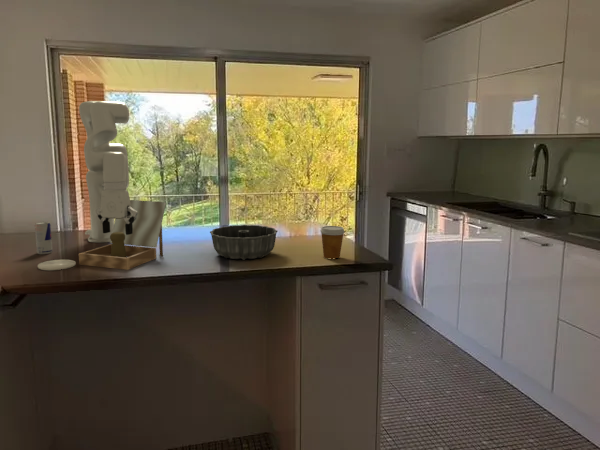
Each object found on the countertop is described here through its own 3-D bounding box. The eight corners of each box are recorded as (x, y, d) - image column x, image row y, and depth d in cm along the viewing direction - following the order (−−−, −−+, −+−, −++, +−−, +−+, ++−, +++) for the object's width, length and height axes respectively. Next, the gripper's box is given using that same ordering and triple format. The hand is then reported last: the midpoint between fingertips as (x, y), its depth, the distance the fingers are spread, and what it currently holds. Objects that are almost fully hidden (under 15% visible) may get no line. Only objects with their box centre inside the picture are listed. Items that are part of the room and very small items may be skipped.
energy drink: (55, 252, 191) (53, 222, 189) (44, 255, 186) (42, 224, 184) (45, 250, 193) (42, 221, 191) (33, 253, 188) (31, 223, 186)
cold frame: (79, 264, 174) (75, 207, 170) (123, 249, 198) (121, 199, 194) (127, 269, 168) (125, 210, 164) (167, 253, 192) (166, 201, 188)
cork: (113, 259, 182) (111, 230, 180) (129, 259, 182) (128, 230, 180) (108, 263, 176) (106, 233, 174) (125, 263, 176) (123, 233, 174)
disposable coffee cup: (346, 256, 193) (348, 227, 191) (338, 261, 184) (339, 230, 182) (324, 253, 197) (325, 224, 195) (315, 258, 188) (316, 228, 186)
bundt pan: (222, 266, 175) (222, 239, 173) (202, 251, 198) (201, 227, 196) (288, 259, 187) (288, 234, 185) (261, 245, 210) (261, 223, 208)
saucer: (29, 268, 167) (29, 266, 167) (56, 260, 179) (56, 258, 178) (57, 271, 164) (57, 269, 164) (83, 263, 175) (83, 261, 175)
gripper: (88, 186, 173) (90, 233, 176) (129, 188, 168) (131, 236, 171) (102, 185, 180) (104, 230, 183) (142, 186, 175) (144, 233, 178)
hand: (117, 233), depth 177 cm, fingers open, 9 cm apart
